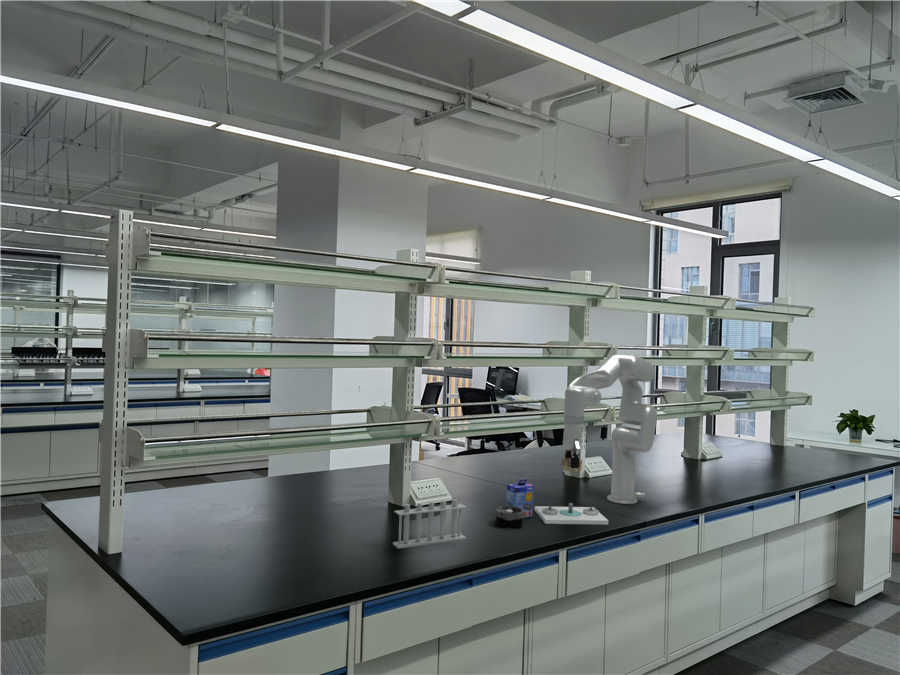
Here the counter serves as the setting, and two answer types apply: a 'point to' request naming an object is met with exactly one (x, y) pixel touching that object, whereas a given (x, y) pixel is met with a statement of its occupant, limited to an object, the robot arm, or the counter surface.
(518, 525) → the cpu cooler
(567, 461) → the maple gear
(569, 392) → the robot arm
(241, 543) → the counter surface
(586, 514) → the gear board
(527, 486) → the ink cartridge box
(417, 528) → the test tube rack
